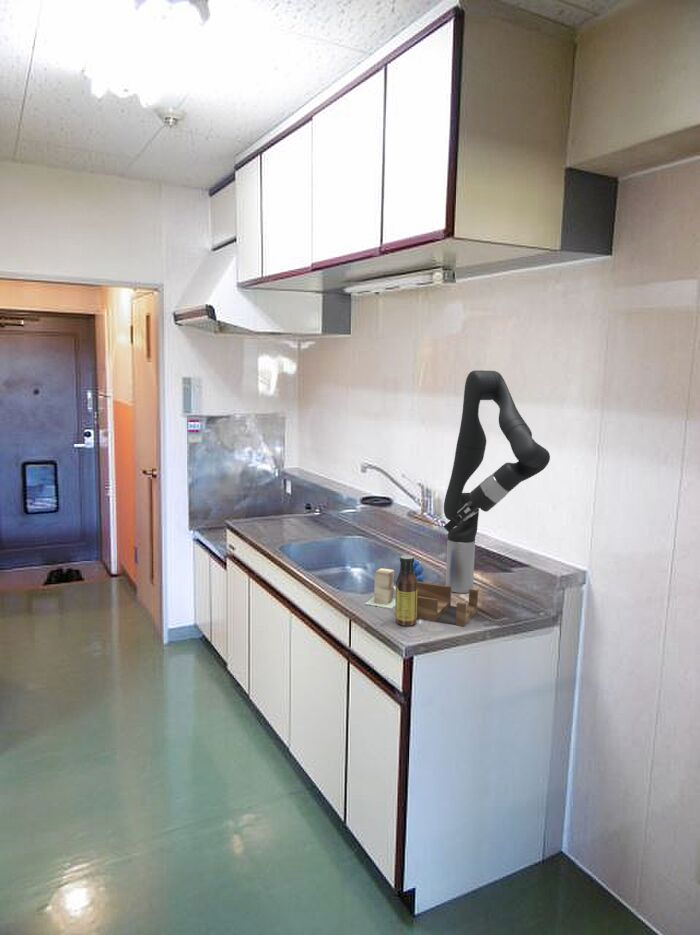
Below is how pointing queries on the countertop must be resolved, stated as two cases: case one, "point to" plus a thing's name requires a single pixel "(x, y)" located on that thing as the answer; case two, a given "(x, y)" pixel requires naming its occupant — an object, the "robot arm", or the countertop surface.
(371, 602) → the mat
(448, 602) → the wooden holder
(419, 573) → the grapes
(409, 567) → the sauce bottle
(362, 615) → the countertop surface
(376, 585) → the block
